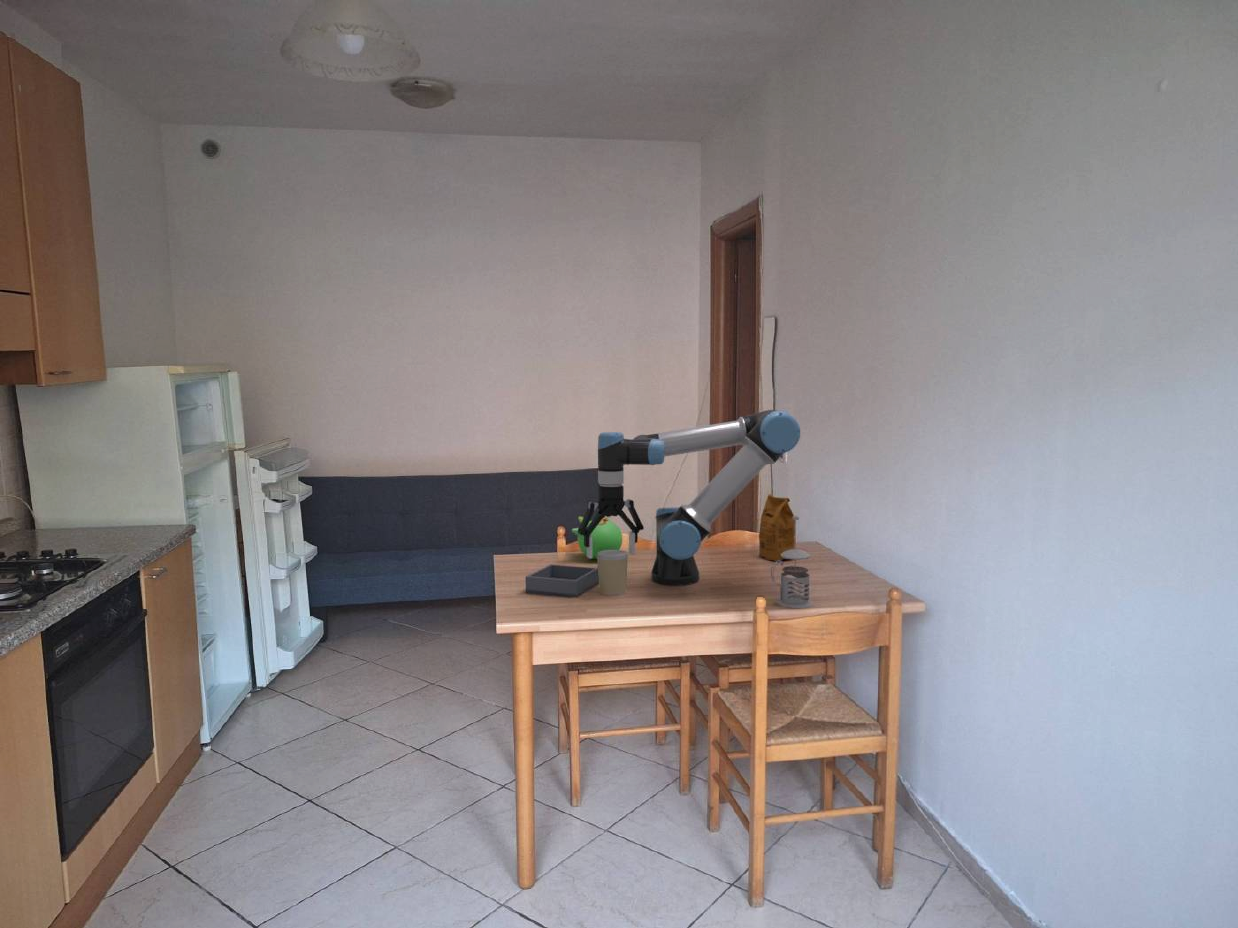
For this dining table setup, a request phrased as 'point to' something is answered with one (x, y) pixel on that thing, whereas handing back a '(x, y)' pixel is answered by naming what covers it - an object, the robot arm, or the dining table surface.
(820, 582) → the dining table surface
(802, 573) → the french press
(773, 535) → the coffee package
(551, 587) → the bin
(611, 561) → the coffee cup
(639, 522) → the robot arm
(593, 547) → the green round figure
